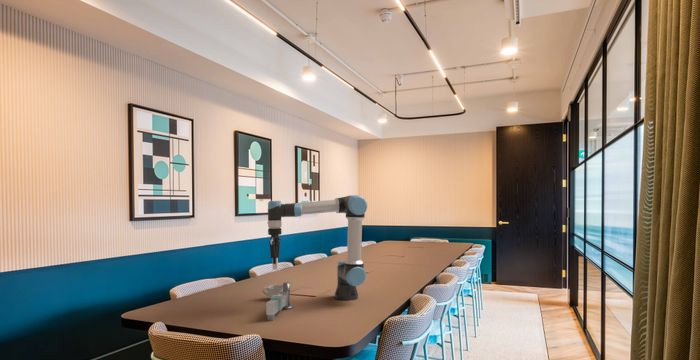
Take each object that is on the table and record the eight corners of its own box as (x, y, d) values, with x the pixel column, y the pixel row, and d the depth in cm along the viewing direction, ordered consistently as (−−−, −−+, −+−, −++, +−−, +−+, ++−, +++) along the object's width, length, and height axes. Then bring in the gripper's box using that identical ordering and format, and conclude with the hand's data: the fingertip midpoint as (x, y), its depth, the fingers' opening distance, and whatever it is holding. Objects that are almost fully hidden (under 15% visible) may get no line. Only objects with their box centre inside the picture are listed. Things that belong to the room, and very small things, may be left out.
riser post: (281, 305, 238) (281, 281, 238) (294, 306, 236) (295, 281, 237) (277, 309, 230) (277, 284, 231) (290, 309, 229) (290, 284, 229)
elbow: (280, 306, 231) (280, 290, 232) (288, 307, 230) (288, 291, 231) (272, 312, 219) (272, 295, 220) (280, 313, 218) (280, 296, 219)
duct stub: (272, 315, 218) (272, 296, 219) (281, 315, 217) (281, 296, 218) (265, 320, 208) (265, 301, 208) (274, 321, 207) (274, 301, 208)
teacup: (286, 297, 258) (287, 284, 258) (282, 301, 247) (282, 288, 248) (265, 296, 259) (265, 284, 260) (260, 301, 249) (260, 287, 249)
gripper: (272, 226, 239) (272, 267, 238) (264, 228, 226) (264, 271, 225) (284, 226, 237) (285, 267, 236) (277, 228, 225) (277, 271, 224)
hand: (275, 269), depth 231 cm, fingers closed
